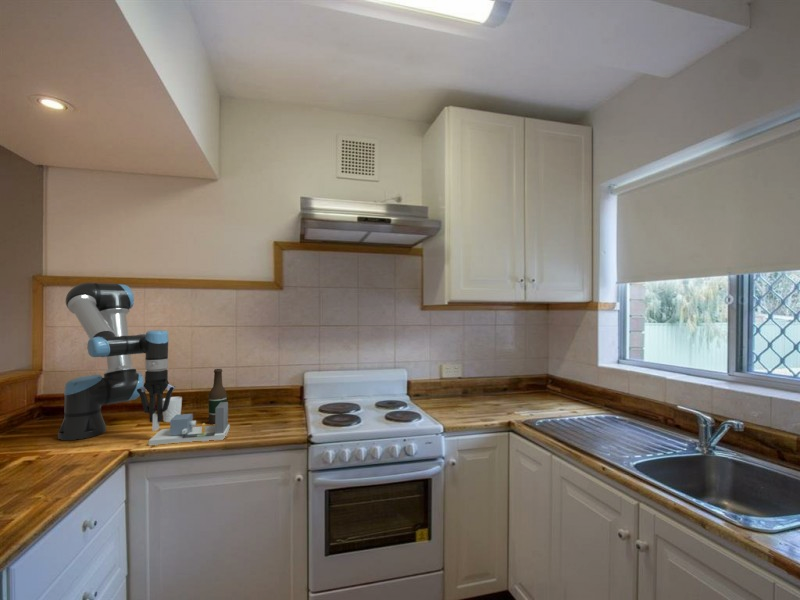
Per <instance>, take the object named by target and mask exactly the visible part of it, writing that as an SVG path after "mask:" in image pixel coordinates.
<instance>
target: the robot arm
mask: <svg viewBox="0 0 800 600" xmlns="http://www.w3.org/2000/svg"><path fill="white" fill-rule="evenodd" d="M134 301H135V297H134V293H133V291H132V289H131V288H130V287H129V286H128V285H127V284H123V283H122V284H119V283H103V282H101V283H100V282H83V283H80V284H77V285H75V286H74V287H72V288H71V289H70V290H69V291H68V293H67V294H66V297H65V305H66V308H67V309H68V311H69V312H70V313H72V314H74V315H75V316H76V318H77V320H78V322H79V324H80V325H81V326H82V328H83V329H84V331H85V333H86V335H87V336H88V338H89V340H88V342H87V344H86V345H87V346H86V347H87V348H86V349H87V353H88V355H89V356H90V357H92V358H106V363H107V370H106V371H104V373H103V377H102V375H101V374H91V375H84V376H79V377H76V378H72V379H71V380H69V381H67V382H66V383H65V385H64V392H63V395H64V408H63V409H64V411H63V412H64V414H63V416H64V417H63V421H62V423H61V425H60V428H59V430H58V432H57V439H58V440H59V439H61V440H60V441H77V440H76V439H79V440H84V438H85V439H88V438H89V437H90V438H93V437H97V436H100V435H102V434H104V433H106V431H107V425H106V423H105V420H104V418H103V415H102V406H107V405H112V404H118V403H123V402H125V403H126V402H130V401H133V400H134V401H135V400H137V399H138V398H139V397H140V401H141V404H142V408H143V412H144V413H145V414H149V422H150V423H152V430H151V431H152V432H157V431H158V430H160V422H161V421H162V420H163V412H165V411H166V410H167V409H168V406H169V402H170V398H171V397H172V395H173V392H174V390H175V389H176V386H174V385H171V384H170V382H169V380H168V379H169V378H168V377H169V375H168V372H169V370H168V368H169V358H168V356H169V333H168V331H167V330H147V331H146V333H143V334H141V333H139V334H136V335H135V334H134V335H133V334H132V335H129V332H128V331H129V330H128V322H127V315H128V313H130V309H132V308H133V306H134V304H135V303H134ZM137 354H139V355H140V354H145V363H144V364H145V370H146V371H145V374H144V377H143V374H142V373H139V372H137V367H134V366H133V364H132V359H131V358H132V356H131V355H137ZM166 390H167V392H166V395H165V397H163V396H164V391H166ZM146 391H147V392H148V394H149V395H148V396H149V399H148V396H147V394H146V393H147V392H146ZM164 398H165V402H164V405H163V399H164Z"/></svg>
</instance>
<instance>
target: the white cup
mask: <svg viewBox="0 0 800 600" xmlns="http://www.w3.org/2000/svg"><path fill="white" fill-rule="evenodd" d="M165 398H166V397H163V405H164V402H165ZM182 402H183V397H182V396H171V398H170V402H169V406H168V409H167V410H166V411H165V412H162V420H163V422H165V423H170V420H171V419H172V418H173V417H174V416H176V415H179V414H182V413H181V412H182Z"/></svg>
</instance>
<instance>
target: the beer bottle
mask: <svg viewBox="0 0 800 600" xmlns="http://www.w3.org/2000/svg"><path fill="white" fill-rule="evenodd" d="M213 373H214V375H213V385H212V388H211V390H210V391H209V395H208V424H209V425H213V424H215V408H216V407H217V406H218V405H219V403H220V402H227V391H226V389H225V387H224V385H223V374H222V373H223V369H222V368H215V369H213Z"/></svg>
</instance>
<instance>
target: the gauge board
mask: <svg viewBox="0 0 800 600" xmlns="http://www.w3.org/2000/svg"><path fill="white" fill-rule="evenodd" d="M229 429H230V430H231V424H229V402H228V401H226V402H220V403H219V405H218V406H217V407H216V408H215V425H213V424H212V425H205V433H204V434H202V425H201V426H193V428H192V430H191V431H190V432H189V433H188V434H186V435H174V436H170V428H162V429H159V431H158V432H157V433H156V434H154V436H152V437H151V438H150V439H148V446H149V445H155V446H159V445H158V444H166V445H169V444H168V443H178V444H180V443H179V442H190V443H193V442H192V441H202V442H210V441H209V440H214V441H222V440H223V439H224V438H226V437H227V435H228V433H229V431H230V430H229ZM225 436H226V437H225ZM224 440H225V439H224ZM224 440H223V441H224Z"/></svg>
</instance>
